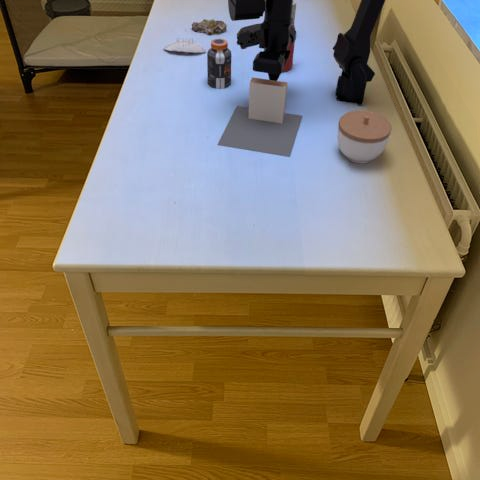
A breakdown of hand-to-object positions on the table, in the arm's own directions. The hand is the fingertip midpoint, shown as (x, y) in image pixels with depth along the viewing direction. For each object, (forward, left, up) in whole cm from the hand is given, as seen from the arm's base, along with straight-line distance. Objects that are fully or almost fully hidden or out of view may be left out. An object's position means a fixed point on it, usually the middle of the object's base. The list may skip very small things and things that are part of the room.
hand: (272, 84), depth 118 cm
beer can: (+2, -21, -6) cm, 22 cm away
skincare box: (+5, -40, -6) cm, 41 cm away
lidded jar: (-22, +14, -6) cm, 27 cm away
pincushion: (+30, -23, -6) cm, 38 cm away
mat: (0, +11, -6) cm, 12 cm away
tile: (0, +6, -6) cm, 8 cm away
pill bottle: (+15, -7, -6) cm, 18 cm away
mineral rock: (+27, -39, -7) cm, 48 cm away
